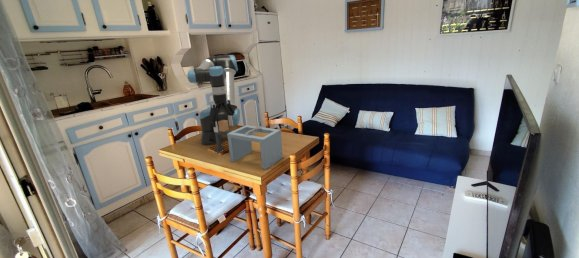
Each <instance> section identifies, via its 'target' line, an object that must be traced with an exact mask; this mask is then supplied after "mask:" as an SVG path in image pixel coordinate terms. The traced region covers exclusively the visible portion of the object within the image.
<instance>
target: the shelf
mask: <svg viewBox="0 0 579 258" xmlns="http://www.w3.org/2000/svg"><path fill="white" fill-rule="evenodd" d="M256 127H257V126H255V125H248V124H245V125H243V126H241V127H239V128H237V129H234V130H231V131H232V132H230V133H228V134H227V136H226V137H227V143H228V152H229V158H230V159H229V160H230V162H233V163H235V162H237V161H238V160H240V159H241V158H244V157H245V156H247V155H248V154H250V153H252V152H253V147H252V142H253V143H259V147H260V157H261V167H262V168H261V169H262V170H267V169H269V168H270V167H271V166H273V165H274V164H276V163H278V162H279V161H280V160H282V158H284V157H283V141H282V130H281V129H278V128H271V127H270V128H269V127H263V126H262V129H261V131H260V132H259V133H263V134H267V135H264V136H257V135H249V136H247V135H245V132H247V131H249V130H252V129H254V128H256Z"/></svg>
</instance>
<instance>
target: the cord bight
mask: <svg viewBox="0 0 579 258" xmlns="http://www.w3.org/2000/svg"><path fill="white" fill-rule="evenodd" d="M218 125H219V129H218V132H215V136H216V143H217V144H216V147H215V148H214V151H215V153H216V152H220V151H222V150H225V146H224V145H222V142H221V138H220V135H222V136H223V137H227V134H228V133H230V132H232V131H233V130H230V128H229V127H230V126H228V120H221V121H218Z"/></svg>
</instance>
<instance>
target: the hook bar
mask: <svg viewBox="0 0 579 258" xmlns="http://www.w3.org/2000/svg"><path fill="white" fill-rule="evenodd" d="M262 127H263V126H262V125H258V126H256V128H254V129H252V130H249V131H247V132H245V135H247V136H249V135H252V136H255V135H256V134H258V133H261V132H260V131H261V129H262Z"/></svg>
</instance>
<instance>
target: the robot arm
mask: <svg viewBox="0 0 579 258" xmlns="http://www.w3.org/2000/svg"><path fill="white" fill-rule="evenodd" d="M236 59H237V57H235V55H234V54H228V55H213V56H212V55H211V56H210V57H206V58H204V59H203V60H202V61H201V62H200V65H199V66H197V68H195V69H190V70H188V71H187V75H186V76H187V80H188V82H189V83H191V84H193V83H194V84H197V83H210V85H211V86H210V87H211V93H212V99H213V100H212V101H213V102H214V103H213V104H212V103H211V104H210V107H208V108H205V109H203V110H201V111H199V115H198V116H199V122H200V128H201V139H200V144H201V145H203V146H215V145H217V143H216V136H215V132H218V129H219V125H218V121H221V120H228V127H234V126H238V125H239V124H240V118H241V111H240V108H238V105H236V97H235V96H236V95H235V75H236V73H237V72H238V70H239V68H238V64H237V60H236ZM220 138H221V143H222V142H223V141H224V136H223V135H220Z"/></svg>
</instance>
